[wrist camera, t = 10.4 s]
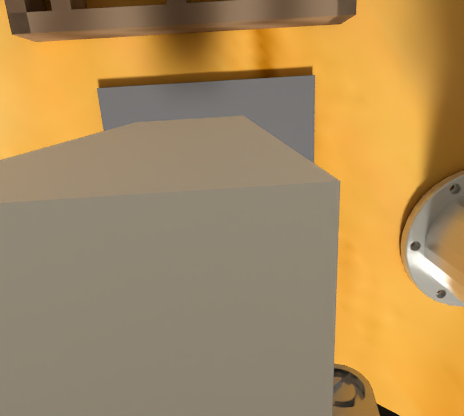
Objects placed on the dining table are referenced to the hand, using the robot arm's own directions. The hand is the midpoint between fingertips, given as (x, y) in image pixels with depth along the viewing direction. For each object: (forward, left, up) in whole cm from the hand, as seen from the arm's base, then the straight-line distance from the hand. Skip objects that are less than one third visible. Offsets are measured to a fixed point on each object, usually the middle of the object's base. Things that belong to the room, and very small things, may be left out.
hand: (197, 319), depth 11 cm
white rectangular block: (0, 0, -4) cm, 4 cm away
